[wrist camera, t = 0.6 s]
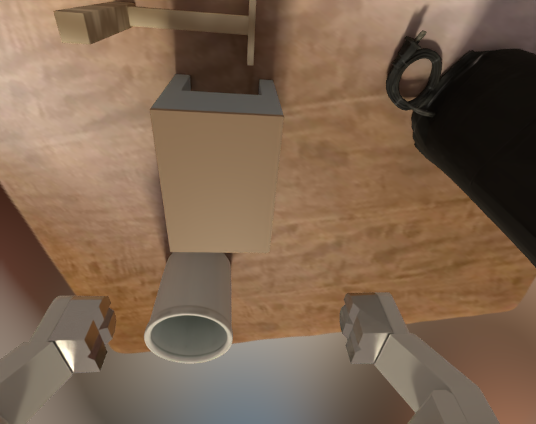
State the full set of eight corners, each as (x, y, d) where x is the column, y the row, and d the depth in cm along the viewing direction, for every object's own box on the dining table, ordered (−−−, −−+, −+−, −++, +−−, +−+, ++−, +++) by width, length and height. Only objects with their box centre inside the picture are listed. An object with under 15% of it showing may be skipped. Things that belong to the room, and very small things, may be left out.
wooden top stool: (175, 74, 45) (149, 109, 33) (272, 80, 46) (283, 116, 34) (186, 192, 57) (170, 252, 44) (263, 194, 58) (269, 253, 46)
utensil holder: (210, 230, 62) (201, 303, 48) (246, 275, 71) (247, 348, 57) (149, 257, 66) (124, 332, 52) (191, 297, 74) (179, 371, 60)
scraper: (109, -32, 38) (39, -39, 25) (256, -19, 39) (262, -18, 27) (123, 51, 43) (72, 81, 30) (252, 60, 45) (256, 92, 32)
